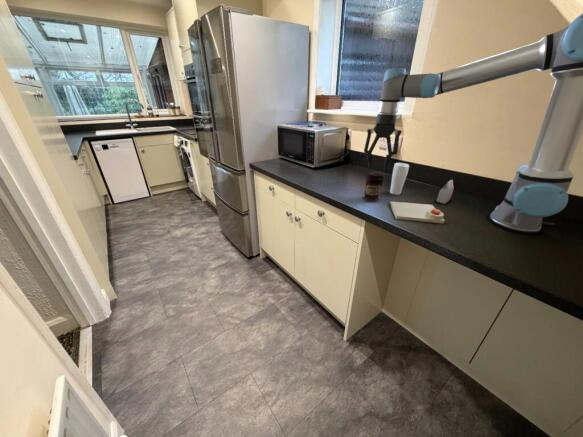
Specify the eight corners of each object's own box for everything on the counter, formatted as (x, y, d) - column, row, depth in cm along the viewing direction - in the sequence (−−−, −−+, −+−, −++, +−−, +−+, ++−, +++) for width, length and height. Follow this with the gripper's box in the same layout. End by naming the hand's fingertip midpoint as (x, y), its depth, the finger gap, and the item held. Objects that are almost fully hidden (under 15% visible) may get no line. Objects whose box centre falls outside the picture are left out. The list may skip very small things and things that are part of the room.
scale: (431, 207, 105) (433, 201, 104) (443, 223, 92) (446, 216, 91) (389, 204, 108) (391, 198, 107) (396, 219, 95) (397, 212, 94)
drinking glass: (402, 196, 116) (410, 167, 109) (388, 194, 118) (394, 165, 111) (401, 191, 122) (408, 163, 114) (387, 190, 123) (394, 162, 116)
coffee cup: (381, 204, 108) (387, 177, 102) (362, 202, 109) (367, 175, 103) (378, 196, 115) (384, 171, 109) (361, 195, 117) (365, 170, 111)
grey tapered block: (436, 201, 111) (442, 181, 106) (441, 197, 115) (448, 178, 110) (444, 203, 109) (451, 183, 104) (449, 200, 113) (456, 180, 108)
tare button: (437, 212, 95) (439, 208, 94) (440, 215, 92) (441, 212, 92) (429, 211, 95) (431, 208, 95) (432, 214, 93) (433, 211, 92)
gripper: (410, 113, 96) (397, 168, 107) (362, 112, 99) (354, 165, 110) (414, 115, 89) (400, 173, 100) (363, 113, 93) (355, 170, 104)
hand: (376, 169), depth 105 cm, fingers open, 6 cm apart
